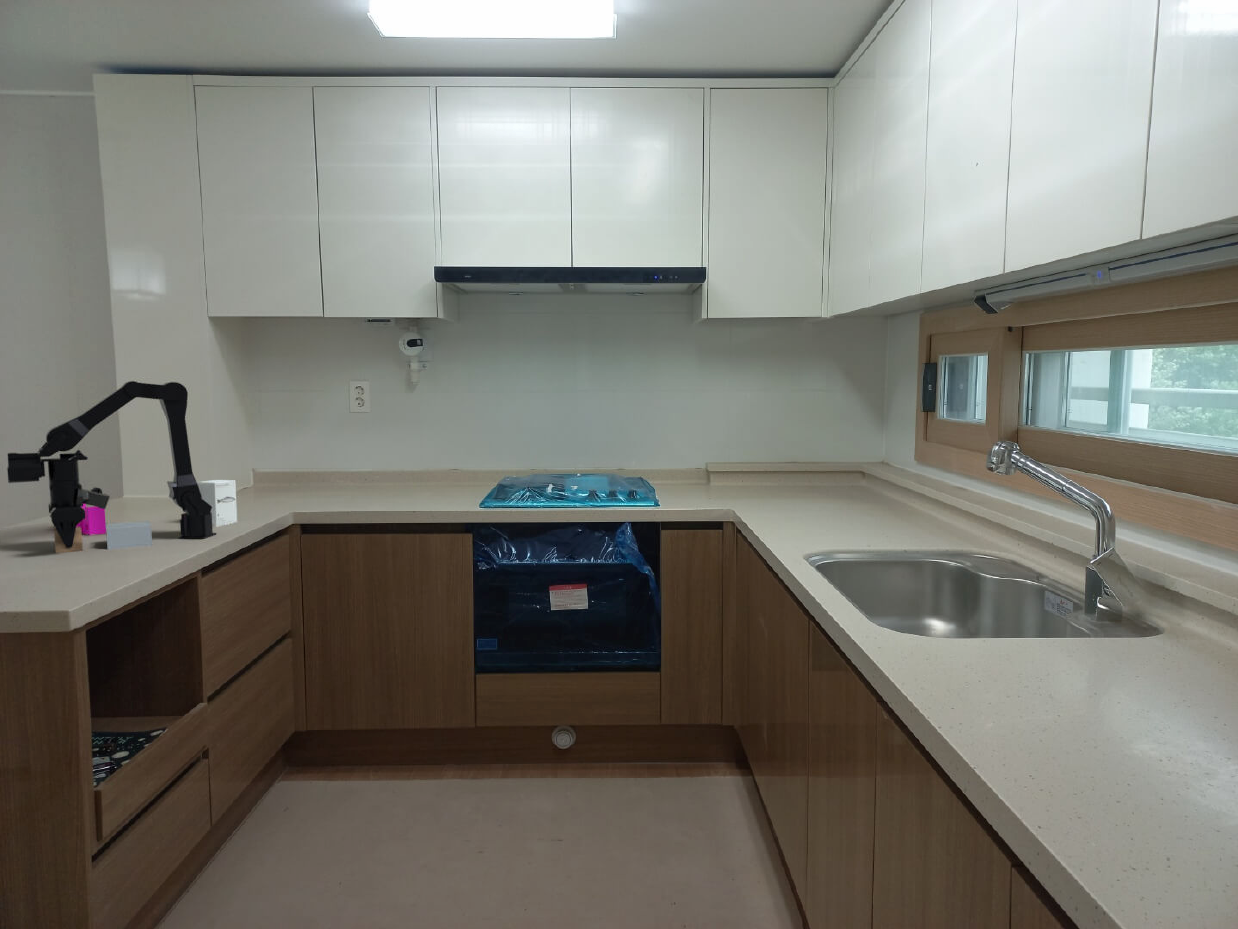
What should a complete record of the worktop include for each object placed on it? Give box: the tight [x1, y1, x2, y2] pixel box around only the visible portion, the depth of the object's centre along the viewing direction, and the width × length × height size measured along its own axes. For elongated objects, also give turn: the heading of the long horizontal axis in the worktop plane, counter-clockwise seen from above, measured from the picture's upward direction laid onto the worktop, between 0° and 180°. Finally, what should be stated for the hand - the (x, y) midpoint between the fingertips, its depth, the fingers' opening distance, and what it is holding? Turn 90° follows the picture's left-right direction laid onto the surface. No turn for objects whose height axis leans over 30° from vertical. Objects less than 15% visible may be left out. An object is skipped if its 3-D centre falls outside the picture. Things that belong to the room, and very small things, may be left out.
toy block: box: [76, 503, 107, 536], centre depth 201 cm, size 15×6×8 cm, turn 55°
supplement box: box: [196, 479, 238, 528], centre depth 211 cm, size 7×7×13 cm
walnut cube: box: [53, 527, 84, 554], centre depth 178 cm, size 5×5×5 cm
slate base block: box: [105, 520, 153, 550], centre depth 185 cm, size 9×9×5 cm
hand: (68, 545), depth 178 cm, fingers closed on walnut cube, 5 cm apart
